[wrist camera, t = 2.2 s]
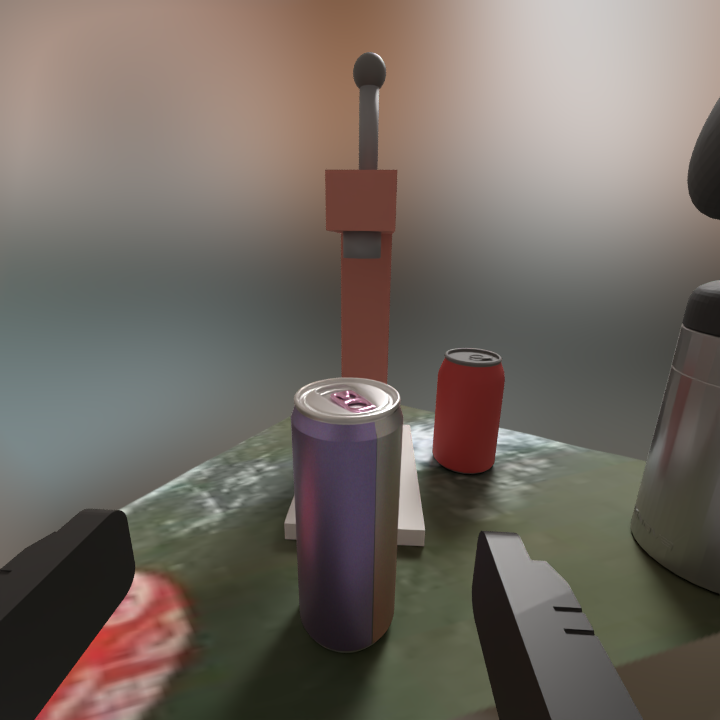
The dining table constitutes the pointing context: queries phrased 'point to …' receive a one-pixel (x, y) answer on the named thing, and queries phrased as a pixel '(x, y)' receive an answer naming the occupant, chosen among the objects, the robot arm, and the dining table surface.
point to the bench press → (369, 277)
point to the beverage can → (346, 508)
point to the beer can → (468, 410)
